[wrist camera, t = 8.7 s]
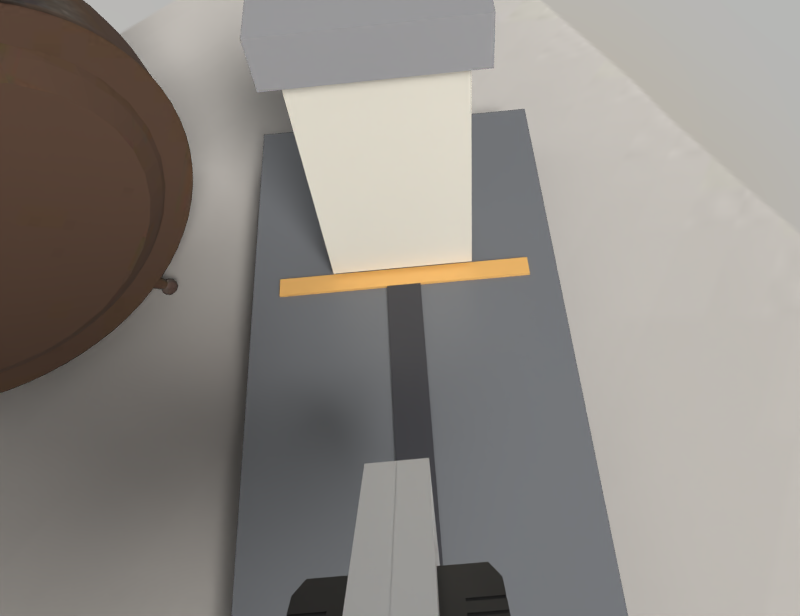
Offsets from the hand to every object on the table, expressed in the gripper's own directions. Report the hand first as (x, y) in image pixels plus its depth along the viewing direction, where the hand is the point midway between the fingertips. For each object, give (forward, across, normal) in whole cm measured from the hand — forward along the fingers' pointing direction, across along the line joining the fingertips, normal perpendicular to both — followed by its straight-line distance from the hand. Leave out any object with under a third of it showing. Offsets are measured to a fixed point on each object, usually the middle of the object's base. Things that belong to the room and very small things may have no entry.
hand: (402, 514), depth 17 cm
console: (+8, 0, -1) cm, 9 cm away
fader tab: (+11, 0, +5) cm, 12 cm away
